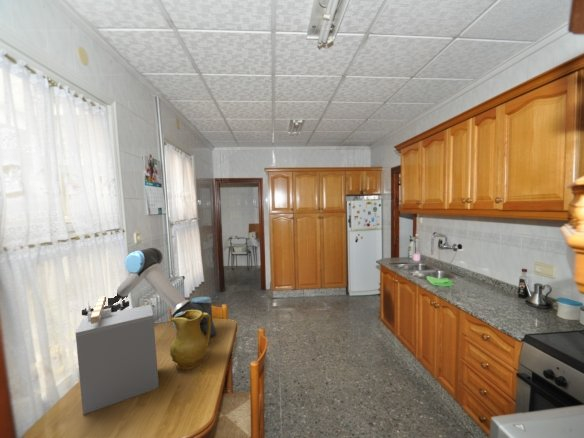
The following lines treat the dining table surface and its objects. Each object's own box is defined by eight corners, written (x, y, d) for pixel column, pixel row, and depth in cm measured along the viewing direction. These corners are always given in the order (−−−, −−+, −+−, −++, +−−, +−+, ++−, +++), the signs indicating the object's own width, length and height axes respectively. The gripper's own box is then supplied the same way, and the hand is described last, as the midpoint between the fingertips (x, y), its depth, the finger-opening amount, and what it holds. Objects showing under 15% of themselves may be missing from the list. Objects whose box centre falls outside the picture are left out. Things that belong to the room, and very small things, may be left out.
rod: (99, 301, 125) (99, 296, 125) (105, 300, 126) (105, 295, 126) (91, 324, 99) (90, 317, 99) (98, 322, 100) (98, 316, 100)
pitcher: (179, 353, 140) (177, 307, 139) (214, 352, 141) (213, 307, 139) (163, 374, 123) (161, 322, 121) (203, 374, 124) (202, 322, 122)
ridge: (88, 319, 112) (88, 312, 112) (111, 314, 116) (110, 307, 116) (87, 321, 110) (87, 314, 110) (111, 316, 114) (110, 309, 114)
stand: (89, 390, 114) (82, 318, 113) (156, 369, 128) (151, 304, 126) (83, 414, 101) (75, 332, 99) (158, 387, 114) (153, 315, 113)
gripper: (135, 314, 152) (134, 305, 136) (80, 326, 139) (72, 318, 123) (134, 301, 155) (133, 291, 139) (80, 312, 142) (72, 302, 126)
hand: (104, 304), depth 131 cm, fingers open, 13 cm apart
